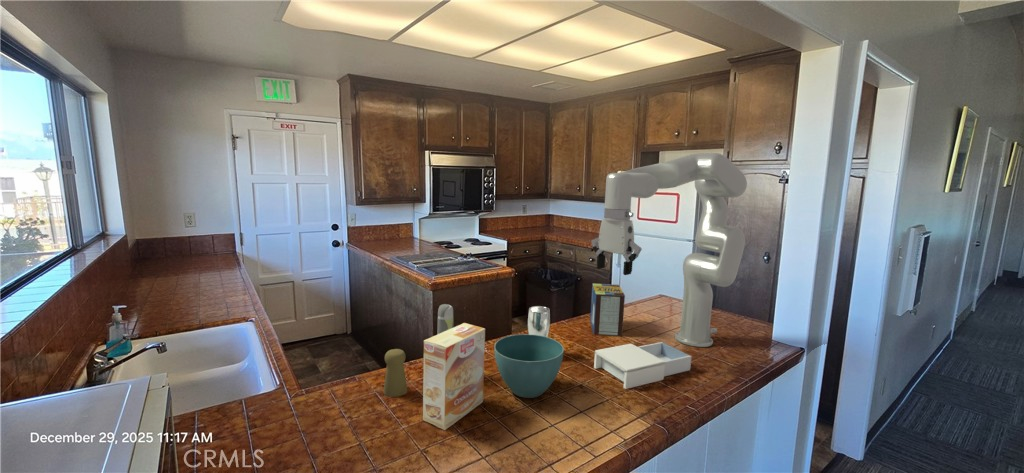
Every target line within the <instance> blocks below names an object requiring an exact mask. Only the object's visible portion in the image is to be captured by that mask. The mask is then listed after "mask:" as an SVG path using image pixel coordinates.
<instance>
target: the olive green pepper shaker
mask: <svg viewBox="0 0 1024 473" xmlns="http://www.w3.org/2000/svg"><path fill="white" fill-rule="evenodd" d="M406 356H407V355H406V353H405V351H404V350H403V349H400V348H394V349H389V350H387V352H386V353H385V354H384V362H385V364H386V369H385V376H384V384H383V391H382V392H383V394H384V396H385V397H390V398H398V397H400V396H403V395H405V394H406V393H407V392H408V386H407V385H408V384H407V379H406V378H407V377H406V372H405V366H404V363H405V361H406Z"/></svg>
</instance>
